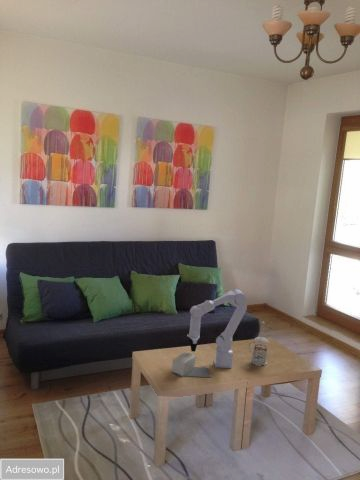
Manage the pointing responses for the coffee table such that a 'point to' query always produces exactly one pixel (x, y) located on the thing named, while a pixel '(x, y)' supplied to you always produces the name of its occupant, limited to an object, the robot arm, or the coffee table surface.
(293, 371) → the coffee table surface
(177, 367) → the supplement box
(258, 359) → the french press
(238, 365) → the coffee table surface
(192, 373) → the mat
